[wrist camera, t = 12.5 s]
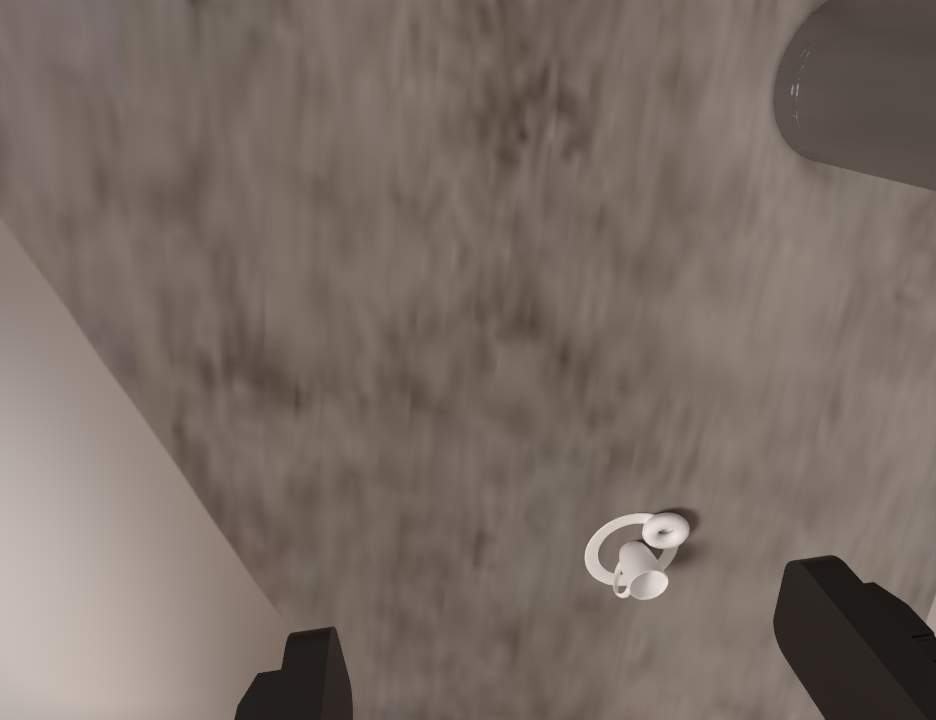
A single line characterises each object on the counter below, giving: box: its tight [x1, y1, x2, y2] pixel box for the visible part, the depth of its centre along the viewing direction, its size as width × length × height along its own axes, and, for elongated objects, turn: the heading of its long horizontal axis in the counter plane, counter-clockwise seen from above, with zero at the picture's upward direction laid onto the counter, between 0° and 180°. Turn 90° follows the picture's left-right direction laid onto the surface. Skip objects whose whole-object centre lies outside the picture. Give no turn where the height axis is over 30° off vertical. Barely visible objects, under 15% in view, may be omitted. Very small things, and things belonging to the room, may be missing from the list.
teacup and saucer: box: [585, 513, 690, 600], centre depth 48 cm, size 9×8×4 cm
